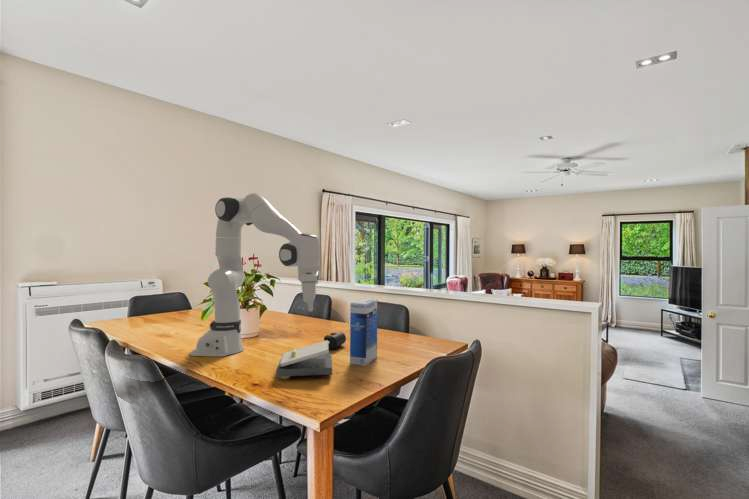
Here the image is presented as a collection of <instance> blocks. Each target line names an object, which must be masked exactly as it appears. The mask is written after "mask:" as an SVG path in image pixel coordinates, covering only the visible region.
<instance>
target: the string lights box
mask: <svg viewBox="0 0 749 499" xmlns="http://www.w3.org/2000/svg"><path fill="white" fill-rule="evenodd" d="M349 308H350V310H349V312H350V313H349V314H350V317H349V320H350V325H349V327H350V330H349V335H350V336H349V340H350V342H349V346H350V347H349V364H350V365H355V366H356V365H357V366H363V367H366V366H367V365H369V364H370V363H371V362H373V361H374V360H375V359H377V358H378V299H374V298H372V299H371V298H360V299H358V300H355V301H352V302H350V307H349Z"/></svg>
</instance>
